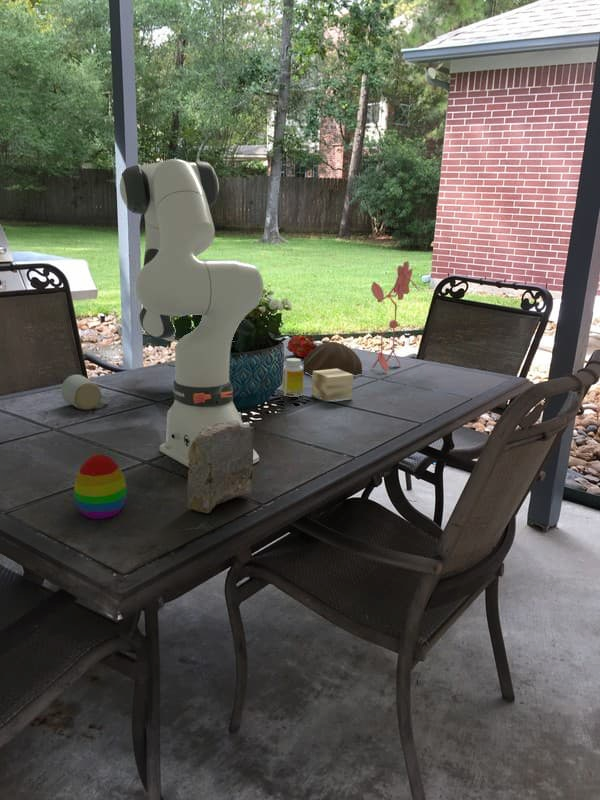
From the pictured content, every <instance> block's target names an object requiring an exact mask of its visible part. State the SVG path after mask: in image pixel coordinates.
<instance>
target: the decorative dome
mask: <svg viewBox="0 0 600 800" xmlns="http://www.w3.org/2000/svg"><path fill="white" fill-rule="evenodd" d="M302 367H303V372H307V373H309V374H310V375H313V371H318V370H328V369H340V370H342V371H345V372H348V373H350V374H353V375H357V374H363V364H362V361H361V359H360V357H359V356H358V355H357V353H356V352H355V351H354V350H353V349H352V348H350V347H349V346H346V345H345V344H342V343H339V342H336V341H328V342H324V343H321V344H318V345H317V347H316V348H315V349H314V350H312V351H311V352H310V353H309V354H308V355H307V356H306V357H305V358H303V366H302Z"/></svg>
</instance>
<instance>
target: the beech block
mask: <svg viewBox="0 0 600 800" xmlns="http://www.w3.org/2000/svg"><path fill="white" fill-rule="evenodd" d="M311 380H312V381H311V382H312V383H311V385H312V386H311V395H312V394H313V395H315V396H317V397H319V398H322V399H324V400H327V401H329V400H335V399H343V398H352V399H353V392H354V391H353V389H354V377H353V374H350V373H348V372H345V371H342V370H340V369H328V370H318V371H313V377H312V379H311Z"/></svg>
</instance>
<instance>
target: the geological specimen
mask: <svg viewBox="0 0 600 800" xmlns="http://www.w3.org/2000/svg"><path fill="white" fill-rule="evenodd" d="M254 430H255V427H253V426H250V427H245V426H244V425H242V424H240V423H239V422H238V421H237V420H233V421H230V422H223V423H215V424H213V425H210V426H209V427H206V428H203V429H202V430H201V431H199V432H198V433H197V434H196V436H195V437H194V438H193V440H192V443H191V445H190V449H189V451H188V456H189V459H190V461H189V462H188V469H189V470H188V471H187V508H189V509H190V510H191V509H192V510H194V511H195V512H200V513H205V514H208V513H211V511H212V509H214V508H215V506H216V505H220V504H223V503H225V502H226V501H229V500H231V499H232V500H233V499H234V498H236V497H239V496H242V495H245V494H246V495H251V494H252V492H253V477H254V475H253V473H254V472H253V471H254V470H253V469H254V464H253V449H254Z"/></svg>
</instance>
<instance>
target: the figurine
mask: <svg viewBox="0 0 600 800" xmlns="http://www.w3.org/2000/svg"><path fill="white" fill-rule="evenodd" d="M396 272H397V277H396V281H395V284H394V286H393V287H392V288H391V290H390V292H389V293H388V294H386V295H385V294H384V291H383V288H382V287H381V285H380V284H378V283H376V282H375V281H373V282H372V284H371V293H372V295H373V297H374V298H375V299H376V300H377V302H378V303H382V302H383V301H384V300H385V299H387V298H389V299H390V301H391V302H392V303H393V305H394V319H392V320H391V321H389V322H388V323H389V325H388V326H389V328H387V329H385V331H383V332H382V333H381V336H380V337H381V339H380V344H381V345H380V349H381V350H380V351H379V352H377V359H376V361H375V362H374V364H373V365H372V367H371V369H372V368H375V367H376V365H377V364H378V363H379V364H380V366H381V367H382V369H383V371H385V373H387V372H388V368H389V367H388V366H389V365H388V361H389V359H390V358H391V357H392V355H394V356H395V357H394V358H395V359H396V361H397V363H398V365H399V366H401V363H400V361H399V359H398V357H397V355H396V353H395V352H396V350H395V329H396V328H398V325H399V324H398V321H397V312H398V311H397V310H398V306H397V303H396V302H395V300H393V299H392V298H396V297H397V300H398V301H403V299H404V296H405V295H408V294H409V293H410V287H409V285H410V283H411V284H412V285H413V286H414V288H415V289H416V290H417V291H418V292H419V291H420V290H419V288H418V287H417V285H416V283H414V281H413V279H411V277H412V275H413V268H412V267H411V268H410V261H409V260H406V261H404V263H403V265H398V266H397V271H396ZM392 293H394V294H392ZM384 295H385V296H384ZM391 329H392V338H393V339H392V344H393V346H392V347H393V348H392V347H391V348H390V349H391V352H390V353H389V356H388V357H387V358H386V356H385V354H384V353H383V337H384V336H383V334H386V332H388V331H389V330H391ZM364 371H365V372H364V373H366V372H367V371H366V370H364ZM386 371H387V372H386Z"/></svg>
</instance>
